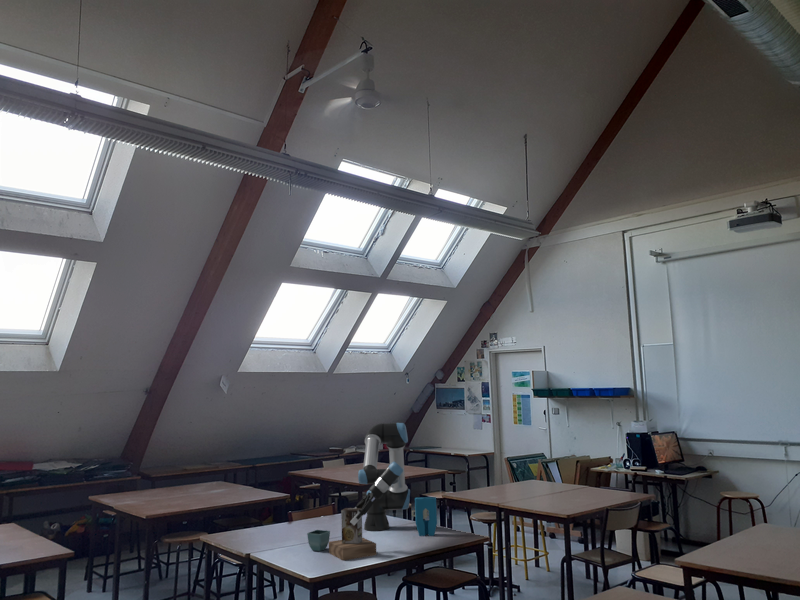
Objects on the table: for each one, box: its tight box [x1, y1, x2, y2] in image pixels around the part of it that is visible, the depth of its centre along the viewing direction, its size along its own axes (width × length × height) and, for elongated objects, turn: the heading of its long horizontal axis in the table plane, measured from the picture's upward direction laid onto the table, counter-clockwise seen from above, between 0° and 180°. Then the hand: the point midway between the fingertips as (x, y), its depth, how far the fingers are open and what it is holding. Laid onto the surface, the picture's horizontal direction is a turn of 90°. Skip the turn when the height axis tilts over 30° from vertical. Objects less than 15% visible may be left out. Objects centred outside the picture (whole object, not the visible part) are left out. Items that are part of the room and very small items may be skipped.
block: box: [414, 496, 438, 537], centre depth 335 cm, size 12×5×20 cm, turn 86°
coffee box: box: [340, 507, 363, 544], centre depth 298 cm, size 9×6×16 cm
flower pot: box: [306, 529, 331, 552], centre depth 307 cm, size 9×9×9 cm
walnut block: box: [328, 537, 377, 561], centre depth 296 cm, size 18×18×6 cm
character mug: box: [411, 508, 429, 530], centre depth 348 cm, size 11×7×13 cm, turn 84°
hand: (350, 521), depth 298 cm, fingers open, 13 cm apart
